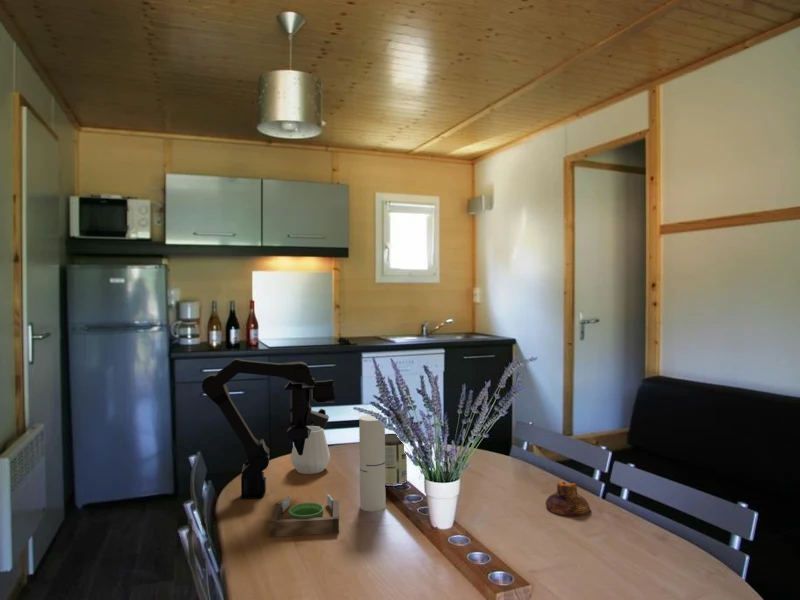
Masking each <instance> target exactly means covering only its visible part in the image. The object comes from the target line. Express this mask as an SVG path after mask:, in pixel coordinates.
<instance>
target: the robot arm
mask: <svg viewBox="0 0 800 600" xmlns="http://www.w3.org/2000/svg"><path fill="white" fill-rule="evenodd" d="M239 374H245V375H246V374H250V375H260V376H268V377H279V378H282V379H285V380H287V381H288V382H287V384H285V385H284V387H283V388H284V391H290V408H289V412H290V422H289V426H290V427H289V428H288V429H287V431H286V439H288V440H291V441H292V443H293V445H294V446H295V448H296V450H297V452H298V454H299V455H303V450H304V445H305V440H306V439H307V438H309V435H310V432H311V429H309V428H308V427H307V426H319V427H320V428H323V430H325V429H326V426H327V424H328V421H329V418H330V416H329V415H328V414H327V413H326V409H323V408H320V409H318V411H316V410H312V406H311V400H312V401H314V402H315V404H318V403H319V404H324V403H335V400H336V399H335V398H336V397H335V396H336V395H335V394H336V393H335V389H334V388H335V386H334V380H333V379H327V380H315V377H313V376H312V374H311V372H310V368H309V365H308V364H307V363H306V362H304V361H289V362H282V363H279V362H278V363H277V362H270V361H259V360H249V359H242V358H235V359H233V360H232V361H231V362H230V363H229V364H227V365H226V366H225V367H223V368H222V369H220V371H218V372H213V373H210V374H208V376H206V377H205V378H203V379H204V380H203V381H202V385H201V389H202V391H203V393H204V394H205V395H206V397H208V398H209V400H210V401H211V402H213V404H215V405H217V407H218V408H219V410H220V412H221V413H222V414H223V416H224V418H225V419H226V421H227V423H228V425H229V426H230V428H231V429H232V431H233V432H234V434H235V436H236V437H237V439H238V441H239V442H240V444H241V446H242V449H243V451H244V455H245V458H246V461H245V462H244V463H243V465H242V468H241V476H240V479H241V480H240V483H241V484H240V489H241V492H240V493H241V494H240V497H239V498H240V499H241V500H242V499H243V500H244V499H259V498H260V499H261V498H263V497H264V496H265V494H266V492H267V477H266V476H265V472H264V471H265V470H266V469H267V468H268V466H269V465H270V464H269V463H270V447H268V446H267V445H266V443H265V440H264V439H263V438H261V439H260V440H259V439H257V438H256V437H255V435H254V434H253V432H252V431H251V429H250V428H249V426H248V424H247V423H246V421H245V420H244V418H243V416H242V414H241V413H240V412H239V410H238V408H237V405H235V403H234V401H233V400H232V398H231V395H230V391H229V388H228V386H227V383H228V382H229V381H230V380H232V379H233V378H234V377H235V376H237V375H239ZM293 382H295V383H293ZM303 383H304V384H305V385H303ZM310 390H311V391H310ZM310 392H311V393H310Z"/></svg>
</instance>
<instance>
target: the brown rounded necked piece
mask: <svg viewBox="0 0 800 600" xmlns="http://www.w3.org/2000/svg"><path fill="white" fill-rule="evenodd" d="M545 507H546V510H547V511H549V512H551V513H552V514H554V515H555V514H556V515H559V516H565V517H583V516H586V515H588V514H589V513H590V508H591V507H590V504H589V501H587V500H586V498H585V497H583V496H582V495H580V494H578V486H577V484H576V482H575V483H574V482H573V483H570V484H568V483H567V484H566V482H565V481H563V480H560V481H558V482H557V486H556V492H554V493H552V494H550V495H549V496H548V497H547V498H546V501H545Z"/></svg>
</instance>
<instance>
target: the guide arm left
mask: <svg viewBox="0 0 800 600" xmlns="http://www.w3.org/2000/svg"><path fill="white" fill-rule="evenodd" d="M280 503H281V516H282V515H284V511H285V510H286V509H288V507H290V505H291V496H290V495H287V497H285V498H284V500H282V501H281V502H280Z"/></svg>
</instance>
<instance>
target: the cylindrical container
mask: <svg viewBox="0 0 800 600" xmlns="http://www.w3.org/2000/svg"><path fill="white" fill-rule="evenodd" d="M370 415H371V414H368V415H367V414H366V415H361V416H360V417H359V418H358V419H359V420H358V421H359V423H358V424H359V427H358V428H359V430H358V433H359V434H358V435H359V439H358V441H359V508H360V509H361V510H362V511H365V512H380V511H383V510H385V508H386V501H387V500H386V496H387V495H386V487H385V434H386V427H385V426H386V425H385V426H384V425H383V424H382V423H381V422H380V421H379V420H378V419H376V418H375V417H372V416H370ZM382 416H383V415H382ZM383 417H385V416H383Z"/></svg>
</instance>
